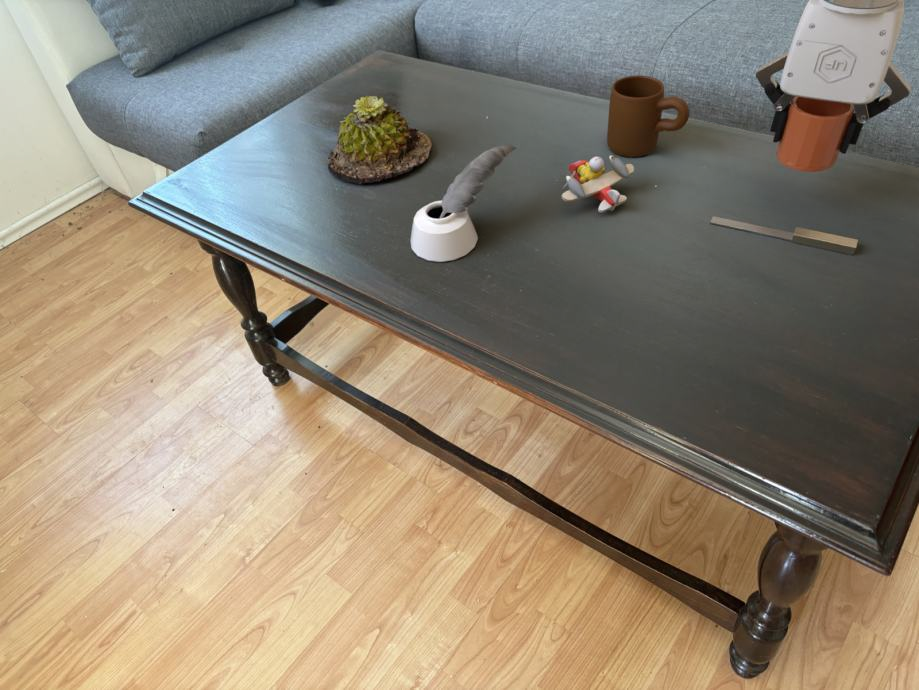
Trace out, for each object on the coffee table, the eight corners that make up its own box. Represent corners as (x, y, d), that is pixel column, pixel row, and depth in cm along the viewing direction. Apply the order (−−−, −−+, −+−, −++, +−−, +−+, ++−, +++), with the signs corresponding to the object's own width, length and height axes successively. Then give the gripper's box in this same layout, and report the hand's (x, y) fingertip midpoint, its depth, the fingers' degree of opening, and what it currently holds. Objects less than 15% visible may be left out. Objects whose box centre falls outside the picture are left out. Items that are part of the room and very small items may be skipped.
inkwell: (396, 242, 89) (384, 179, 82) (493, 186, 97) (489, 123, 89) (440, 272, 84) (430, 207, 77) (538, 210, 91) (537, 146, 84)
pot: (839, 148, 82) (859, 95, 77) (831, 176, 79) (850, 122, 73) (782, 139, 85) (797, 86, 80) (771, 165, 81) (786, 112, 76)
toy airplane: (569, 180, 96) (570, 140, 91) (632, 184, 94) (637, 143, 89) (558, 216, 90) (559, 176, 85) (626, 222, 88) (630, 181, 83)
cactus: (362, 199, 97) (348, 140, 90) (310, 160, 107) (293, 104, 100) (453, 153, 104) (446, 94, 97) (396, 121, 113) (386, 65, 106)
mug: (693, 149, 98) (704, 88, 92) (668, 172, 95) (678, 111, 88) (622, 128, 104) (628, 70, 98) (596, 150, 101) (600, 91, 94)
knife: (854, 247, 80) (858, 239, 79) (853, 255, 79) (856, 247, 78) (712, 217, 87) (714, 209, 86) (709, 224, 86) (711, 216, 85)
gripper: (764, -9, 69) (729, 145, 82) (958, 7, 62) (886, 172, 75) (779, -33, 73) (743, 116, 86) (961, -21, 66) (893, 139, 79)
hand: (810, 141), depth 80 cm, fingers closed on pot, 6 cm apart
